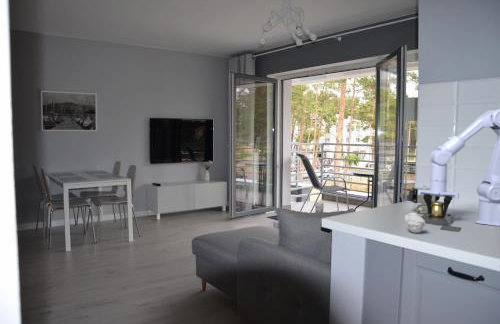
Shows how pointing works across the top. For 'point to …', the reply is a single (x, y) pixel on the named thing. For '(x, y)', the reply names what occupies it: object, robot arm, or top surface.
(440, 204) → the gold metal cylinder
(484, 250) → the top surface
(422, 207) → the pneumatic valve
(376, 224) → the top surface
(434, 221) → the housing
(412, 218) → the white lumpy ball
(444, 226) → the mat
